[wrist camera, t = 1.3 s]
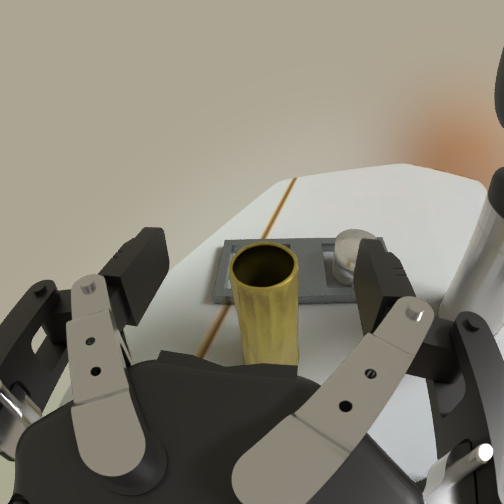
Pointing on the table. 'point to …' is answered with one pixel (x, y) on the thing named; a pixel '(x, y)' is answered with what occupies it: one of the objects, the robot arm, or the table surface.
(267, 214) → the table surface
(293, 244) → the grey rectangular frame
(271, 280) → the vase
